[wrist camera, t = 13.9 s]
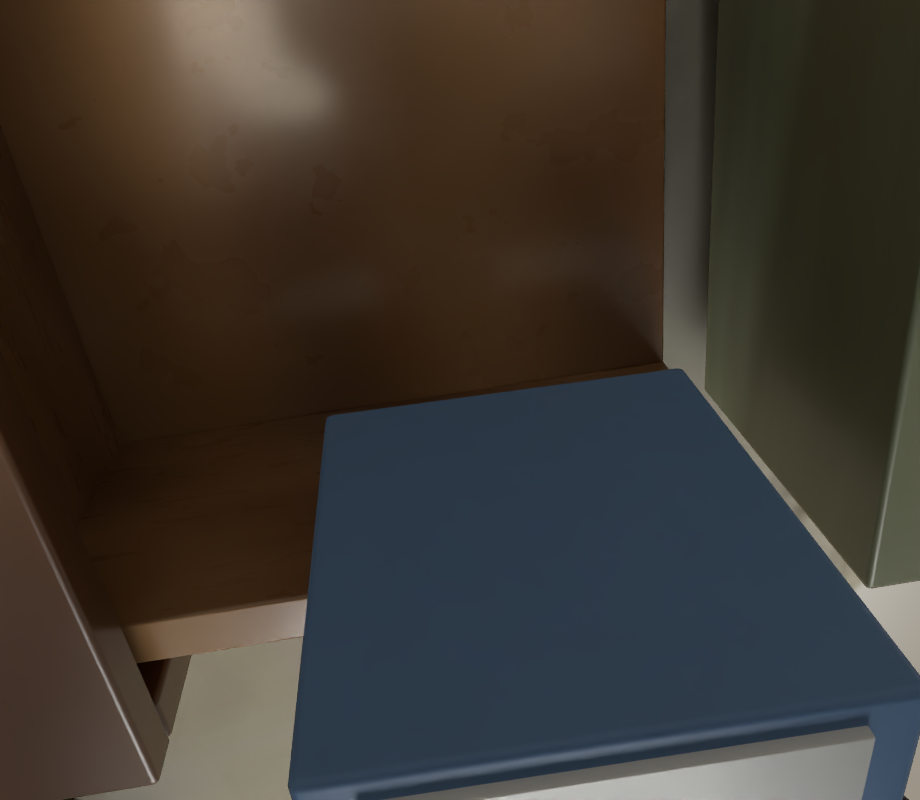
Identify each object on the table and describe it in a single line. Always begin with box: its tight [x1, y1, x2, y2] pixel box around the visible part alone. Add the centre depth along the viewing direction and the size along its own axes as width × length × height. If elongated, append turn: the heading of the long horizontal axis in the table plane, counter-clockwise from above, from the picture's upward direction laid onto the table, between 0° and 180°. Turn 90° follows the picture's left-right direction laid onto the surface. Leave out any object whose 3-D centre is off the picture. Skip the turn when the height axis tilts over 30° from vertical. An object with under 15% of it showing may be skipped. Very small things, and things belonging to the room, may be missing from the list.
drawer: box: [0, 0, 920, 663], centre depth 12 cm, size 19×13×7 cm
